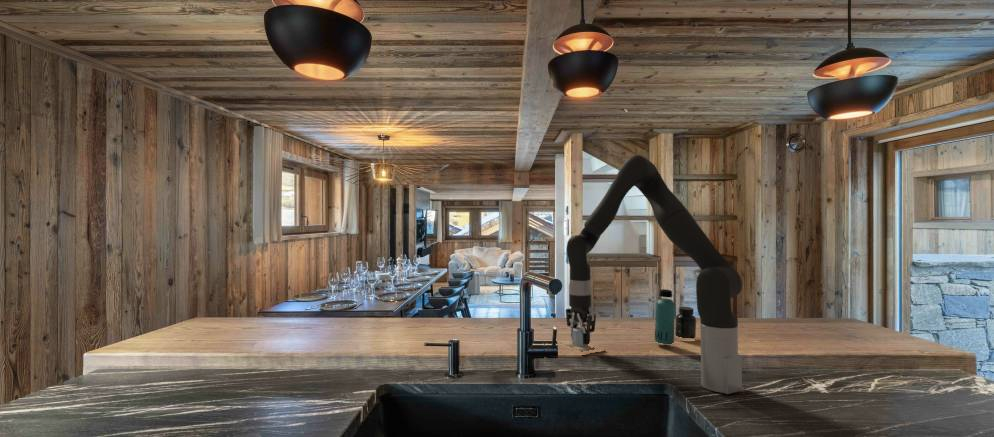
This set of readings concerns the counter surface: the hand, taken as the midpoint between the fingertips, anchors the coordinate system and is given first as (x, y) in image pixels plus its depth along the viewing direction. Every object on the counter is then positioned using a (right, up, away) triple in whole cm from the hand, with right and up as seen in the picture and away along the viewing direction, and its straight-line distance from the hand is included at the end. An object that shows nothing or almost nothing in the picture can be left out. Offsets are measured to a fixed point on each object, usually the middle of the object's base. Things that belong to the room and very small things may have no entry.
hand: (580, 341), depth 153 cm
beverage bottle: (+29, -2, +2) cm, 30 cm away
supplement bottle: (+40, -2, +9) cm, 41 cm away
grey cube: (0, -1, 0) cm, 1 cm away
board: (0, -2, -1) cm, 3 cm away
